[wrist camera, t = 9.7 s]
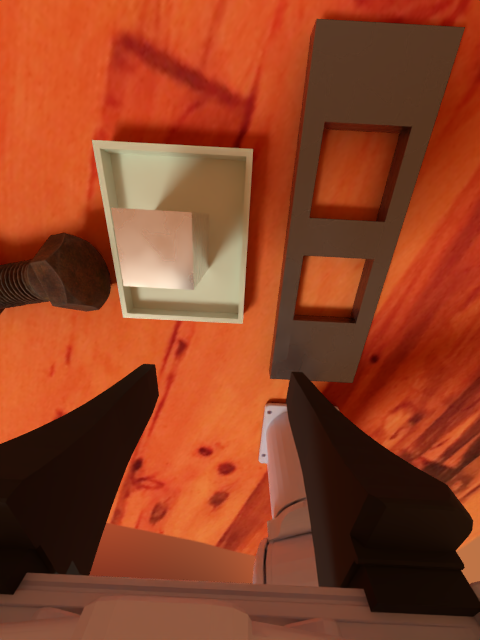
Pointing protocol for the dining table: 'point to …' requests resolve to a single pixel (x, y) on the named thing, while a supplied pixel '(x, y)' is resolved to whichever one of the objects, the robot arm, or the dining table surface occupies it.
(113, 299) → the dining table surface
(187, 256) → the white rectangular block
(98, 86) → the dining table surface
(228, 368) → the dining table surface
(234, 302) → the tray
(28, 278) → the bolt
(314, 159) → the metal plate with holes
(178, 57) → the dining table surface
